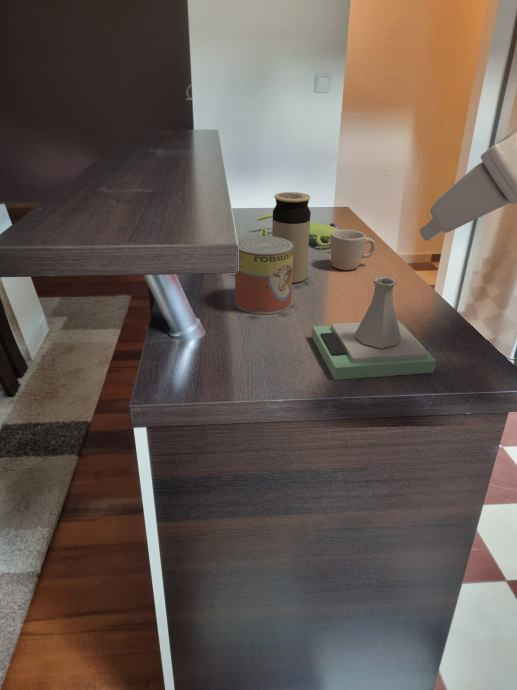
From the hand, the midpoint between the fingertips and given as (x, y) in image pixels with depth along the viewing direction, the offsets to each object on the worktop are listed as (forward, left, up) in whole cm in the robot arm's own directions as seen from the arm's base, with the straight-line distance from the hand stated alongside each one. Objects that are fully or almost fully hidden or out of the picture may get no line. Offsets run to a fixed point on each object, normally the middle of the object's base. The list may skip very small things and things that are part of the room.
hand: (441, 227), depth 70 cm
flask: (+5, -5, -20) cm, 21 cm away
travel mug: (+11, -42, -23) cm, 49 cm away
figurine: (+3, -68, -23) cm, 72 cm away
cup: (-5, -47, -23) cm, 52 cm away
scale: (+5, -6, -23) cm, 24 cm away
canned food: (+19, -29, -23) cm, 42 cm away
